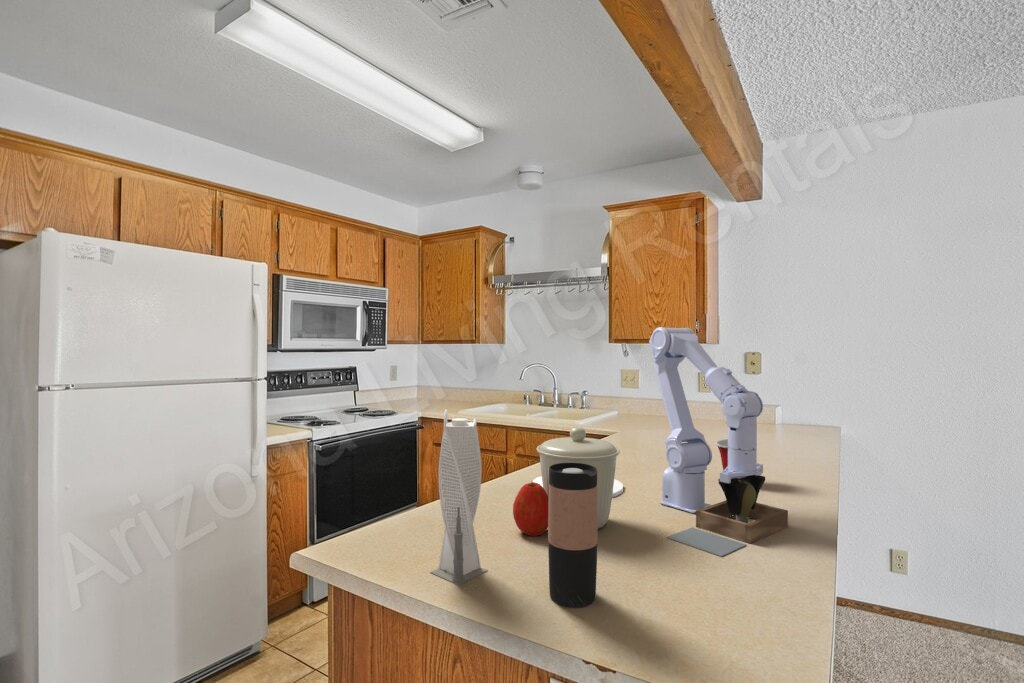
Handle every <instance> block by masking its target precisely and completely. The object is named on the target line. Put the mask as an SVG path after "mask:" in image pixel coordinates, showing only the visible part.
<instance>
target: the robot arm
mask: <svg viewBox="0 0 1024 683" xmlns="http://www.w3.org/2000/svg"><path fill="white" fill-rule="evenodd" d="M650 336H651V337H650V338H649V340H648V343H649V348H650V350H651V355H652V359H653V368H654V371H655V374H656V378H657V379H656V380H657V382H658V387H659V391H660V394H661V397H662V401H663V404H664V405H663V406H664V409H665V413H666V416H667V420H668V424H669V428H670V432H671V433H670V434H669V436H668V437H667V438H666V439H665V441H664V443H665V450H666V451H665V457H666V461H667V463H668V465H669V466H668V467H666V468H665V470H664V471H663V475H662V481H661V482H662V496H661V497H662V499H661V501H660V504H661V505H664V506H668V507H671V508H673V509H678V510H682V511H684V512H688V513H691V514H696V510H699V509H702V508H705V507H708V506H711V505H712V504H709V503H707V502H706V501H705V499H706V498H705V497H706V492H705V491H706V488H705V487H706V484H705V481H706V480H705V474H706V473H705V471H708V466H709V465H710V464H711V463H712V460H713V453H712V449H711V447H710V445H709V444H708V443H707V441H706V438H705V435H704V433H702V432H701V431H699V429H696V427H695V425H694V422H693V419H692V415H691V412H690V409H689V404H688V402H687V399H686V398H687V397H686V394H685V391H684V387H683V383H682V381H681V377H680V372H679V369H678V367H679V365H680V363H682V362H683V361H684V360H685V359H686V358H687V359H688V360H689V361H690V363H691V364H693V365H694V367H695V368H697V370H699V371H700V373H702V374H703V375H704V377H705V378H704V384H705V385H706V386H707V387H708V389H709V390H710V391H711V392H712V393H713V394H714V396H715V397H716V398H717V399H718V401H719V402H720V403H721V411H722V413H723V415H724V416H725V417H724V418H725V424H726V426H727V439H728V466H727V467H726V468H725V470H724V471H723V470H722V471H720V472H719V478H718V485H719V486H720V488H721V489H722V492H723V494H724V496H725V501H726V500H727V504H728V508H729V512H730V513H732V514H736V515H740V513H741V509H742V500H743V495H744V492H745V489H746V487H747V485H748V484H744V483H740V481H738V479H739V480H744V481H747V482H749V483H750V484H751V485H752V486H753V487H754V489H755V491H756V500H755V502H754V504H753V506H752V508H751V509H752V510H753V509H754V508H755V505H756V503H757V500H758V497H759V493H760V490H761V488H762V487H763V485H764V483H765V481H766V476H764V475H762V474H764V464H762V463H758V462H757V461H758V460H757V459H758V458H757V457H758V456H757V455H758V454H757V449H758V448H757V446H758V444H757V443H758V442H757V440H758V438H757V436H758V435H757V433H758V432H757V430H758V429H757V428H758V426H757V424H758V422H757V418H758V417H759V416H761V414H762V412H763V408H764V404H763V401H762V399H761V397H760V395H759V393H757V392H756V391H752V390H748V389H747V388H746V386H744V385H743V384H741V383H740V382H739V380H738V379H737V378H735V376H733V371H732V370H731V369H730V368H726V367H725V366H724V367H723V366H718V365H717V364H716V363H715V362H714V360H713V359H712V358H711V357H710V354H708V352H707V351H706V350H705V349H704V347H703V346H702V345H701V344H700V342H699V335H696V334H695V332H694V331H693V330H692V329H691V328H689V327H680V328H679V327H664V326H660V327H656V328H655V329H654V330H653V332H652V334H651V335H650ZM736 515H735V516H736Z"/></svg>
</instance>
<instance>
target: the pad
mask: <svg viewBox="0 0 1024 683" xmlns="http://www.w3.org/2000/svg"><path fill="white" fill-rule="evenodd" d="M668 538H669V539H668ZM666 539H668V540H671V539H672V540H671V541H674V540H675V541H674V542H677V541H678V542H677V543H680V542H681V543H680V544H683V545H685V546H688V545H689V547H691V546H692V548H694V547H695V548H694V549H697V548H698V549H697V550H700V551H703V552H706V553H708V554H712V555H715V556H718V557H721V558H722V557H725V556H727V555H729V554H731V553H733V552H736V551H738V550H740V549H742V548H744V547H746V546H747V544H746V543H744V542H741V541H738V540H737V541H735V539H730V538H727V537H725V536H722V535H719V534H716V533H711V532H707V531H706V530H703V529H702V530H701V529H700V528H697V527H696V528H695V527H689V528H687V529H683V530H681V531H679V532H676V533H674V534H670V535H668V536H666Z"/></svg>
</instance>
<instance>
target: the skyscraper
mask: <svg viewBox="0 0 1024 683" xmlns="http://www.w3.org/2000/svg"><path fill="white" fill-rule="evenodd" d="M443 412H444V413H443V431H442V436H441V442H440V443H441V445H440V451H439V459H438V492H439V493H438V494H439V501H440V509H441V515H442V520H443V526H444V533H443V538H442V544H441V550H440V556H439V561H438V567H437V568H436V569H433V570H432V571H430V572H429V574H431V575H433V576H436V577H438V578H441V579H443V580H445V581H447V582H450V583H451V584H455V585H456V586H460V585H463V584H464V583H467V582H468V581H470V580H472V579H474V578H476V577H479V576H481V575H483V574H485V573H487V572H489V571H488V569H486V568H483V567H482V566H481V561H480V555H479V554H480V553H479V549H478V544H477V539H476V533H475V528H474V522H475V517H476V513H477V509H478V507H479V506H478V505H479V501H480V500H479V499H480V494H481V489H482V488H481V486H482V474H483V473H482V456H481V447H480V440H479V432H478V427H477V419H476V418H473V421H470V422H469V419H468V418H463V417H459V418H457V417H456V418H452V419H451V421H450V422H448V419H449V418H448V416H449V412H448V409H447V408H446V409H445V410H444V411H443Z"/></svg>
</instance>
